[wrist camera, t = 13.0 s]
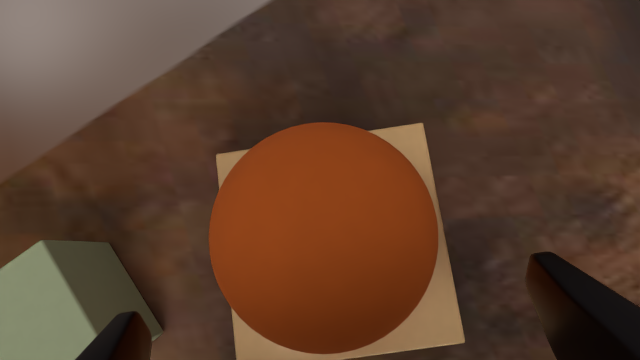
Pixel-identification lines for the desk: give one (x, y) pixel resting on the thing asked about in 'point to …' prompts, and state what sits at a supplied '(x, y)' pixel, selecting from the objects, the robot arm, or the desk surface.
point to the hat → (323, 238)
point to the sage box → (63, 299)
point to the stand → (433, 309)
